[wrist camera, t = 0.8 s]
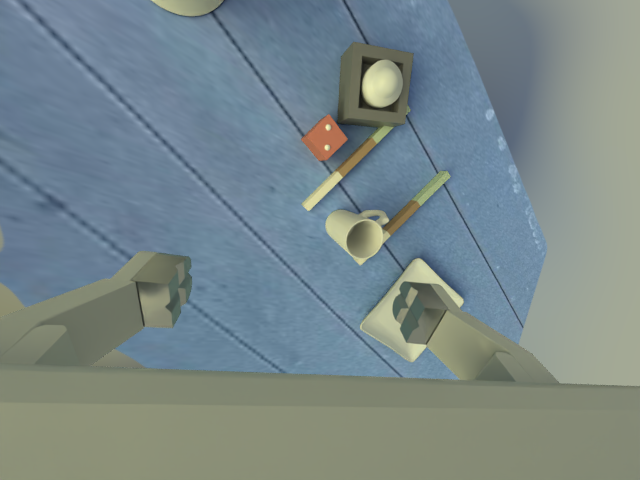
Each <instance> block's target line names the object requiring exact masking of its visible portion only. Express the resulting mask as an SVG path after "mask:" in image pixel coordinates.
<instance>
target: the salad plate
mask: <svg viewBox="0 0 640 480" xmlns="http://www.w3.org/2000/svg"><path fill="white" fill-rule="evenodd" d="M404 281H408V282H418V283H432V284H439V285H441V286H442V287H443V288H444V289H445V291H446V292H447V293H448V294H449V296H450V297H451V298H452V299H453V300H454V302H455V303H456V304H457V305H458V307H459V308H460V307H461V306H462V305H463V303H464V300H463V298H462V297H461V296H460V295H459V294H457V293H456V292H455V291H454V290H453V289H452V288H451V287H450V286H449V285H448V284H446V283H445V282H444V281H443V280H442V279H441V278H440V277H439V276H438V275H437V274H436V273H435V272H434V271H433V270H432V269H431V268H430V267H429V266H428V265H427V264H426V263H425V262H424V261H423V260H422V259H420V258H416V259H414V260H413V261H412V262H411V263H410V264H409V265H408V267H407V268H406V269H405V271H404V272H403V273H402V275H401V276H400V277H399V278H398V280H397V281H396V282H395V283H394V285H393V286H392V287H391V288H390V290H389V291H388V292H387V293H386V294H385V296H384V297H383V298H382V299H381V300H380V302H379V303H378V304H377V305H376V306H375V307H374V308H373V309H372V311H371V312H370V313H369V314H368V315H367V316H366V317H365V318H364V320H363V321H362V323H361V325H360V329H361V330H362V331H364V332H365V333H367V334H368V335H370V336H372V337H373V338H375V339H377V340H378V341H380V342H381V343H383V344H385V345H386V346H388V347H389V348H391V349H392V350H394V351H395V352H396V353H398V354H399V355H400V356H402V357H403V358H404V359H406V360H408V361H409V362H413V361H415V360H416V358H417V357H418V356H419V355H420V354H421V353H422V352H423V351H424V350H425V348H426V347H427V346H426V345H423V344H412V343H406V341H405V339H404V337H403V335H402V333H401V331H400V327H401V324H400V323H398V322H397V321H396V320H395V318H394V316H393V311H392V308H393V302H394V299H395V297H396V296H398V295H399V294H400V290H399V288H400V286H401V284H402V283H403V282H404Z"/></svg>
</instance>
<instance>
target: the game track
mask: <svg viewBox="0 0 640 480" xmlns="http://www.w3.org/2000/svg"><path fill="white" fill-rule="evenodd" d="M410 111H411V110H410V108H409V106H408V105H407V111H406V115H407V114H408V113H409V112H410ZM392 128H393V127H390V126H382V127H379V128H378V129H377V130H376V131H375V132H374V133H373V134H372V135H371V136H370V137H369V138H368V139H367V140H366V141H365V142H364V143H363V144H362V145H361V146H360V147H359V148H358V149H357V150H356V151H355V152H353V153H352V154H351V155H350V156H349V157H348V158H347V159H346V160H345V161H344V162H343V163H342V164H341V165H340V166H339V167H338V168H337V169H336V170H335V171H334V172H333V173H332V174H331V175H330V176H329V177H328V178H327V179H326V180H325V181H324V182H323V183H322V184H321V185H320V186H319V187H318V188H317V189H316V190H315V191H314V192H313V193H312V194H311V195H310V196H309V197H308V198H307V199H306V200H305V201H304V202H303V203H302V205H303V206H304V207H305V208H306V209H307V210H308V211H310V210H311V209H312V208H313V207H314V206H315V205H316V204H317V203H318V202H319V201H320V200H321V199H322V198H323V197H324V196H325V195H326V194H327V193H328V192H329V191H330V190H331V189H332V188H333V187H334V186H335V185H336V184H337V183H338V182H339V181H340V180H341V179H342V178H343V177H344V176H345V175H346V174H347V173H348V172H349V171H350V170H351V169H352V168H353V167H354V166H355V165H356V164H357V163H358V162H359V161H360V160H361V159H362V158H363V157H364V156H365V155H366V154H367V153H368V152H369V151H370V150H371V149H372V148H373V147H374V146H375V145H376V144H377V143H378V142H379V141H380V140H381V139H382V138H383V137H384V136H385V135H386V134H387V133H388V132H389V131H390V130H391V129H392ZM450 177H451V176H450V175H449V173H448V171H440V172H439V173H438V174H437V175H436V176H435V177H434V178H433V179H432V180H431V181H430V182H429V183H428V184H427V185H426V186H425V187H424V188H423V189H422V190H421V191H420V192H419V193H418V194H417V195H416V196H415V197H414V198H413V199H412V200H411V201H410V202H409V203H408V204H407V205H406V206H405V207H404V208H403V209H402V210H401V211H400V212H399V213H398V214H397V215H396V216H395V217H394V218H393V219H392V220H391V221H390V222H389V223H388V224H387V225H386V226H385V227H384V228H383V229H382V230H383V234H384V239H383V243H384V242H385V241H386V240H387V239H388V238H389V237H390V236H391V235H392V234H393V233H394V232H395V231H396V230H397V229H398V228H399V227H400V226H401V225H402V224H403V223H404V222H405V221H406V220H407V219H408V218H409V217H410V216H411V215H412V214H413V213H414V212H415V211H416V210H417V209H418V208H419V207H420V206H421V205H422V204H423V203H424V202H425V201H426V200H427V199H428V198H429V197H430V196H431V195H432V194H433V193H434V192H435V191H436V190H437V189H438V188H439V187H440V186H441V185H442V184H444V183H445V182H446V181H447V180H448V179H449V178H450ZM383 243H382V244H383ZM353 259H354V260H355V261H356V262H357V263H358V264H359V265H362V264H363V263H364V262H365V261H366V260H367V259H368V258H367V259H356V258H354V257H353Z"/></svg>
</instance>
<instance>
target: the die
mask: <svg viewBox="0 0 640 480" xmlns="http://www.w3.org/2000/svg"><path fill="white" fill-rule="evenodd" d="M301 140H302V141H303V142H304V143H305V145H306V146H307V147H308V148H309V149H310V151H311V152H312V153H313V154H314V155H315V156H316V158H317V159H318V160H319V161H322V160H327V159H328V158H329V157H330V156H331V155H332V154H333V153H334V152H335V151H336V150H337V149H338V148H339V147H340V146H341V145H343V144H344V143H345V142H346V141H347V140H348V139H347V137H346V136H345V135H344V133H343V132H342V131H341V129H340V128H339V127H338V125H337V124H336V123H335V121H334V120H333V119H332V117H331V116H330V115H327V116H326V117H324V118H323V119H321V120H320V121H319V122H318V123H317V124H316V125H315V126H314V127H313V128H312V129H311V130H310V131H309V132H308V133H307V134H306V135H305V136H304V137H303V138H302V139H301Z"/></svg>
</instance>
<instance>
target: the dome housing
mask: <svg viewBox="0 0 640 480" xmlns="http://www.w3.org/2000/svg"><path fill="white" fill-rule="evenodd" d="M380 60H390V61H392V62H393V63H395V64H396V65H397V66H398V68H399V69H400V71H401V74H402V79H403V86H402V91H401V94H400V96H399V97H398V99H397V100H396V101H395V102H394V103H392V104H390V105H388V106H386V107H383V108H380V109H375V108H372V107H370V106H368V105H367V104H366V103H365V101H364V100H363V98H362V95H361V91H360V83H361V79H362V76H363V74H364V73H365V72H366V70H368V69H369V68H370V67H371V66H372V65H374V64H375V63H376V62H378V61H380ZM412 62H413V53H408V52H403V51H398V50H393V49H388V48H383V47H378V46H372V45H367V44H362V43H357V42H353V43H352V44H351V45H350V47H349V48H348V49H347V50H346V51H345V53H344V54H343V55H342V56H341V67H340V85H339V103H338V121H337V123H338V124H348V125H358V126H368V127H382V126H390V127H396V126H399V125H403V124H405V119H406V111H407V102H408V94H409V86H410V78H411V70H412Z"/></svg>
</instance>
